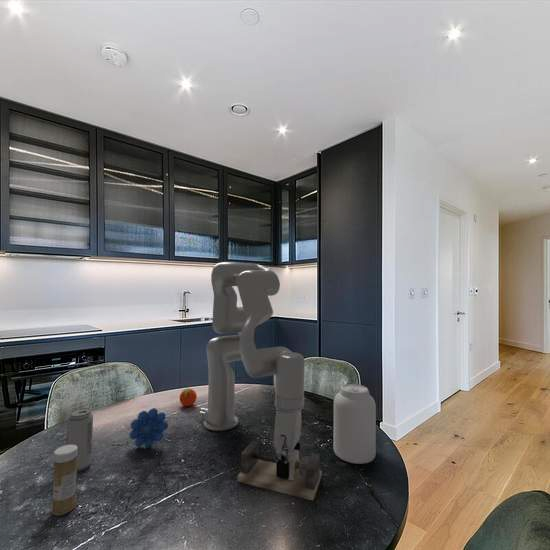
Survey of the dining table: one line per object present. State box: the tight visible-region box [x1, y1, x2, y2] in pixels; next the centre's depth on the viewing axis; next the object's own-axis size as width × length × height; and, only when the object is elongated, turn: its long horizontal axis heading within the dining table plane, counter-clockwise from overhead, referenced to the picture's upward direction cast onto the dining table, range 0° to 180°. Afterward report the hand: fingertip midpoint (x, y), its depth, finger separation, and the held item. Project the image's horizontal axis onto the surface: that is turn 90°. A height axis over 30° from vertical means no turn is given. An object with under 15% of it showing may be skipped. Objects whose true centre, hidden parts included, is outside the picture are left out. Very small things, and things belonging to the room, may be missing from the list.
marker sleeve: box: [283, 447, 300, 481], centre depth 82 cm, size 4×5×5 cm
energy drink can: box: [66, 408, 94, 473], centre depth 87 cm, size 6×6×15 cm
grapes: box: [129, 407, 169, 448], centre depth 98 cm, size 12×7×12 cm, turn 93°
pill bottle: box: [51, 444, 78, 517], centre depth 71 cm, size 5×5×14 cm
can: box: [332, 383, 377, 465], centre depth 95 cm, size 12×12×20 cm
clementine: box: [179, 388, 197, 407], centre depth 130 cm, size 8×7×7 cm
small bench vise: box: [237, 440, 323, 501], centre depth 82 cm, size 20×10×6 cm, turn 70°
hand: (288, 466), depth 82 cm, fingers open, 9 cm apart
